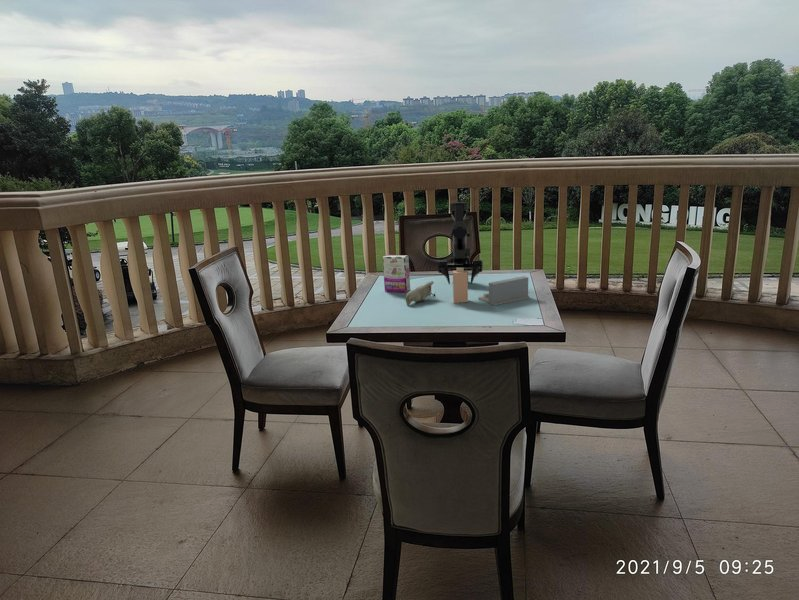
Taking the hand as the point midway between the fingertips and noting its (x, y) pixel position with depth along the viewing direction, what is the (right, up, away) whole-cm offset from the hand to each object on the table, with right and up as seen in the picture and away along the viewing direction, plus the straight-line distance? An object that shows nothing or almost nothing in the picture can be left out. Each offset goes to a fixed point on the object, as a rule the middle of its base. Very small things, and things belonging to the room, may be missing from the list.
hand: (460, 283), depth 226 cm
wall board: (+18, -6, +4) cm, 20 cm away
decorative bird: (-16, -8, +6) cm, 19 cm away
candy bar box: (-26, -3, +24) cm, 35 cm away
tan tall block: (0, -8, +2) cm, 8 cm away
